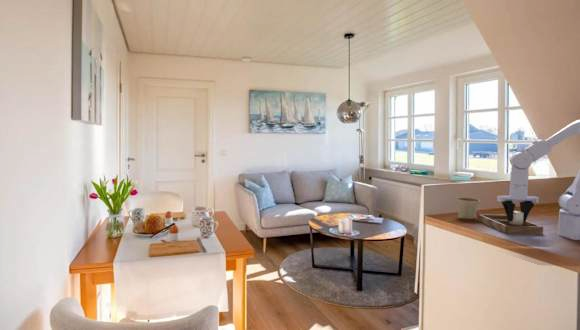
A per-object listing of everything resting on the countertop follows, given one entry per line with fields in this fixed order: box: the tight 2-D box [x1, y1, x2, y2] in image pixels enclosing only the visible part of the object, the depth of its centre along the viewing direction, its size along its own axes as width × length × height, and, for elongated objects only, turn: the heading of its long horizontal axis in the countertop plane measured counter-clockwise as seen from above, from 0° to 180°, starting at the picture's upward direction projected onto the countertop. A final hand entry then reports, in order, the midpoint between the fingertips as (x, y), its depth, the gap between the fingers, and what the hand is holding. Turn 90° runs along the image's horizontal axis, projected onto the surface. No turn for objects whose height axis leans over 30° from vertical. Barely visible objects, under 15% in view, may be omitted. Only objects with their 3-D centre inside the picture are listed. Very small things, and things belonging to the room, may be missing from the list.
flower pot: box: [455, 197, 481, 220], centre depth 165 cm, size 9×9×9 cm
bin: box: [477, 213, 544, 235], centre depth 148 cm, size 20×14×4 cm, turn 1°
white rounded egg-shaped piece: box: [509, 210, 524, 225], centre depth 143 cm, size 4×4×4 cm
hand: (516, 220), depth 143 cm, fingers closed on white rounded egg-shaped piece, 4 cm apart
